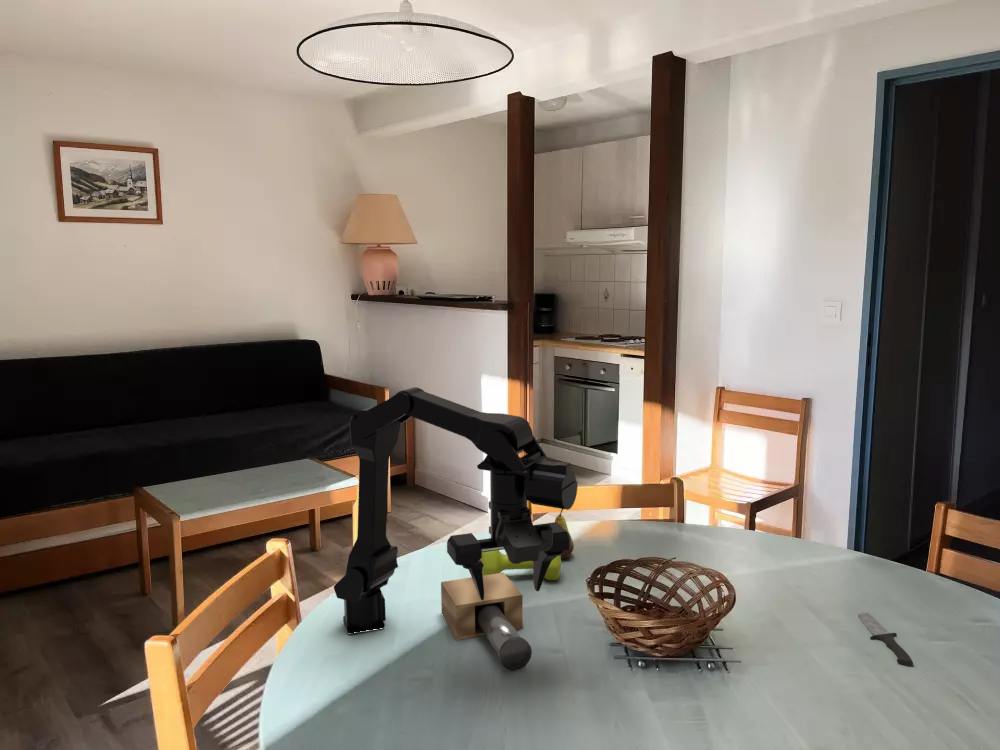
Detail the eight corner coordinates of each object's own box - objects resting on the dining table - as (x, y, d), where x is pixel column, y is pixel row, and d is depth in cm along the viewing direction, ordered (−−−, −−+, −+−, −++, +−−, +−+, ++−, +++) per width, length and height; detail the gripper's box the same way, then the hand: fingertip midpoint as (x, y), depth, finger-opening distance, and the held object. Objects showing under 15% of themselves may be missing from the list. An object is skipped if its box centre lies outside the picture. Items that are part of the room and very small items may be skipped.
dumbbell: (557, 569, 159) (557, 536, 158) (562, 585, 151) (563, 550, 150) (478, 571, 158) (478, 538, 157) (479, 588, 150) (479, 553, 149)
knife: (837, 601, 142) (865, 601, 142) (837, 606, 143) (864, 606, 142) (894, 660, 120) (926, 660, 120) (894, 667, 120) (926, 667, 120)
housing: (456, 639, 130) (455, 605, 129) (441, 614, 139) (441, 582, 138) (522, 628, 134) (522, 594, 133) (503, 603, 143) (503, 572, 142)
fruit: (578, 555, 166) (578, 501, 164) (566, 564, 161) (566, 509, 159) (555, 550, 169) (555, 497, 167) (543, 558, 164) (543, 505, 162)
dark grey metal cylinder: (500, 673, 119) (500, 642, 118) (473, 630, 132) (472, 602, 131) (531, 667, 120) (531, 636, 119) (501, 625, 134) (501, 597, 133)
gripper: (465, 523, 107) (467, 627, 109) (586, 508, 113) (585, 607, 115) (445, 499, 117) (447, 595, 120) (557, 487, 123) (556, 578, 126)
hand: (509, 594), depth 120 cm, fingers open, 9 cm apart
